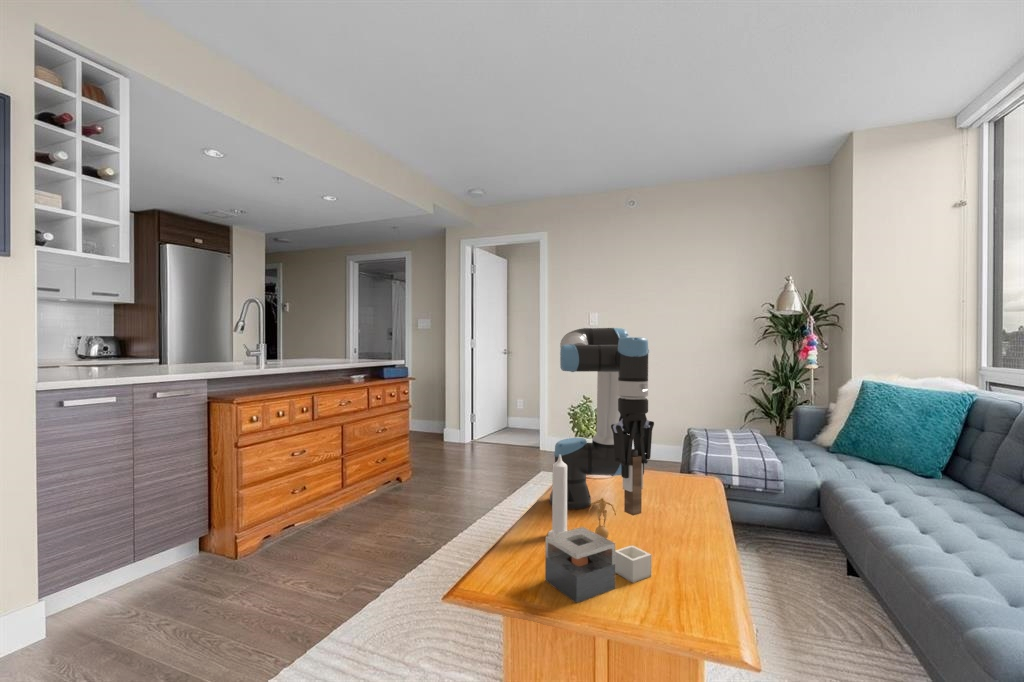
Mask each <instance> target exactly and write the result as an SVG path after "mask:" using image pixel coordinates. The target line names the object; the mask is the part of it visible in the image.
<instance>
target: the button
mask: <svg viewBox="0 0 1024 682" xmlns="http://www.w3.org/2000/svg"><path fill="white" fill-rule="evenodd" d="M572 563H573V564H575V565H576V566H578V567H580V566H583V565H586V564H588V558H587V557H582V558H579V559H575V558H574V557H572Z"/></svg>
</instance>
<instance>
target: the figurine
mask: <svg viewBox="0 0 1024 682" xmlns="http://www.w3.org/2000/svg"><path fill="white" fill-rule="evenodd" d="M596 504H598V506H599V509H597V520H598V526H597V527H596V528H595V530H594V533H596V534H598V535H600V536H602V537H604V538H606V539H608V537H609V529H608V528H607V527H606V520H607V512H608V511H607V509H606V506H607V505H609V506H610V507H611V508H612V510H613V512H614V513H613V514H614V516H617V511H616V510H615V508H614V504H612V503H611V502H610V501H608V500H606V499H605V497H601V498H599V499H598V500H596V501H594V502H593V501H592V502H591V505H590V507H589V509H588V512H587V513H588V514H590V512H591V510H592V508H593V506H594V505H596ZM601 516H602V517H603V525H601V524H602V523H601V522H602V521H601Z"/></svg>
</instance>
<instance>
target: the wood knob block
mask: <svg viewBox="0 0 1024 682" xmlns="http://www.w3.org/2000/svg"><path fill="white" fill-rule="evenodd" d="M625 460H626V459H625ZM630 465H632V466H633V491H632V492H629V491H627V490H624V489H623V490H624V496H623V497H624V503H623V504H624V510H623V511H624V513H626V514H628V515H631V516H637V515H641V514H642V502H643V501H642V494H643V493H642V490H643V489H642V456H638V450H636V449H634V448H632V452H631V462H630Z"/></svg>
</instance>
